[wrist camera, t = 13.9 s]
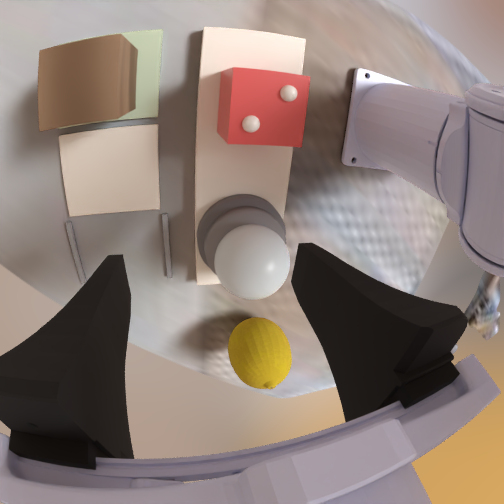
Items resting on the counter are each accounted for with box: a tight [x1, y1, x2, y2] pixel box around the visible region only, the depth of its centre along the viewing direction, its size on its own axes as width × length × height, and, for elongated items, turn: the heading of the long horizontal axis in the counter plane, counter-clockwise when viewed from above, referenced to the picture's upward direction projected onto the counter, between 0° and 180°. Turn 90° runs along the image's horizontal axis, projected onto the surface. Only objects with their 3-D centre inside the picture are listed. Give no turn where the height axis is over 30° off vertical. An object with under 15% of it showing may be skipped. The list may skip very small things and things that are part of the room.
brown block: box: [38, 34, 138, 132], centre depth 11 cm, size 4×4×6 cm
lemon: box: [228, 317, 292, 389], centre depth 25 cm, size 6×6×8 cm
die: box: [217, 67, 310, 147], centre depth 14 cm, size 4×4×4 cm
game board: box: [58, 27, 306, 285], centre depth 17 cm, size 16×19×2 cm
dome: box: [204, 206, 290, 300], centre depth 18 cm, size 6×6×5 cm
